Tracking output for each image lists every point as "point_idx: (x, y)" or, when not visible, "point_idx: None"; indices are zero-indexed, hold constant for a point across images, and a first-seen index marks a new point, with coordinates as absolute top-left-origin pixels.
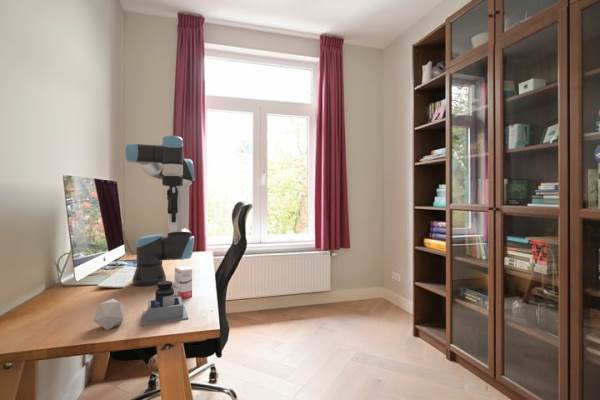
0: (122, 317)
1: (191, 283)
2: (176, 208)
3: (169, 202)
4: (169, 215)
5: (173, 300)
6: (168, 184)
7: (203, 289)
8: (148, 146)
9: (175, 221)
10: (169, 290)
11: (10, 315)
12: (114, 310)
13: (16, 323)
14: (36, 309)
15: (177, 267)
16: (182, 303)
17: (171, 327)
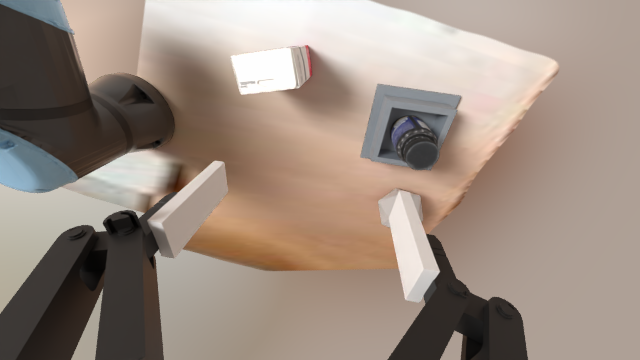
0: (420, 197)
1: (302, 48)
2: (517, 334)
3: (160, 352)
4: (185, 236)
5: (425, 125)
6: None
7: None
8: None
9: (437, 240)
10: (435, 143)
11: (280, 268)
12: (420, 214)
13: (315, 264)
14: (267, 252)
15: (251, 88)
16: (444, 109)
17: (475, 131)
